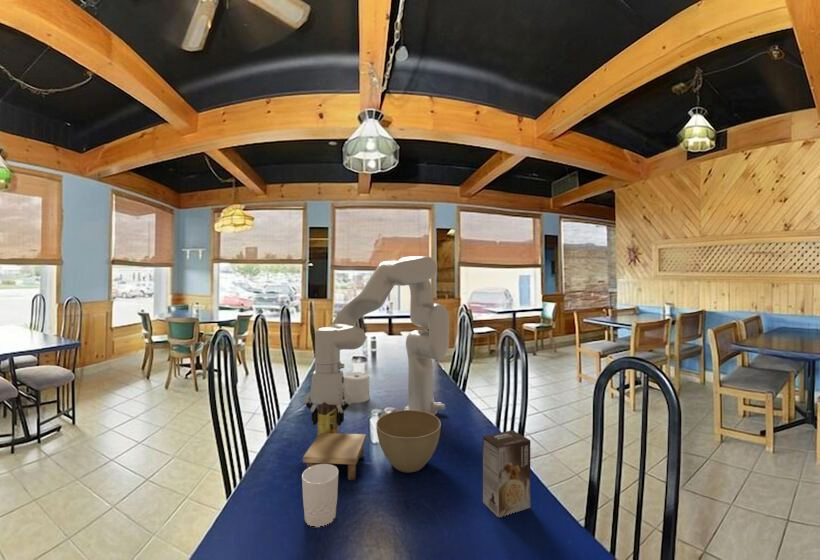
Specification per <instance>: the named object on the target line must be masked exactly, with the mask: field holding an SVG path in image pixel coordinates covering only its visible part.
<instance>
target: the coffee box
mask: <svg viewBox="0 0 820 560" xmlns="http://www.w3.org/2000/svg"><path fill="white" fill-rule="evenodd" d="M482 503H483V504H484V505H485V506H486V507H487V508H488V509H489V510H490V511H491V512H492V513H493V514H494V515H495V516H496V517H497V518H498V517H499V518H498V519H500V517H501V518H503V516H504V517H507V516H509V514H510V515H512V513H513V514H515V512H516V513H519V512H521V511H525V510H527V509H531V439H529V438H528V437H526V436H524V435H522V434H521V433H519V432H516V431H515V430H512V429H511V430H507V431H503V432H497V433H493V434H489V435H485V436H484V435H483V436H482ZM506 515H507V516H506Z"/></svg>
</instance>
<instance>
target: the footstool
mask: <svg viewBox="0 0 820 560" xmlns="http://www.w3.org/2000/svg"><path fill="white" fill-rule="evenodd" d="M366 440H367V434H365V433H364V434H363V433H339V432H338V433H319V435H318V434H317V436H316V438H315V439H314V441H313V442H312V443H311V444H310V446H309V448H308V449H307V451H305V453H304V455H303V457H302V458H303V459H302V463H306V469H307V468H309V467H311V466H314V465H316V464H331V465H334V464H335V465H336V464H337V465H347V480H349V481H353V480H355V479H356V478H357V477H356V468H357V467H356V465H357V463H358V461H359V459H363V458H364V457H365V456H364V449H365V448H364V446H365V443H366Z"/></svg>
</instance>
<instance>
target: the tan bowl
mask: <svg viewBox="0 0 820 560" xmlns="http://www.w3.org/2000/svg"><path fill="white" fill-rule="evenodd" d="M375 423H376V424H375V425H376V433H377V439H378V442H379V445H380V447H381V450H382V452H383V454H384V456H385V457H386V459H387V460H388V462H389V464H391V465H392V467H394V468H395V470H396V471H399V472H402V473H409V474H411V473H414V472H418V471H421V469H423V467H425V465H427V463H428V462H429V461H430V459H431V458H432V456H433V455H434V453H435V451H436V448H437V446H438V444H439V440H440V435H441V427H442V423H441V420H440V418H438V416H436V415H432V414H430V413H427V412H423V411H417V410H404V409H401V410H395V411H392V412H388V413H386V414H384V415H381V416H380V417H379V418H378V419H377V421H376V422H375Z"/></svg>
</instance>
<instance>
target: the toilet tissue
mask: <svg viewBox="0 0 820 560" xmlns="http://www.w3.org/2000/svg"><path fill="white" fill-rule="evenodd" d="M343 375H344V374H343ZM344 382H345V391H346V392H347V393H348V394H349V395H350V396H351V397H353V398H354V400H353V402H352V403H351V404H361V403H365V402H368V401H369V400H370V374H369V373H367V372H362V371H360V372H359V371H354V372H349V373H345V375H344ZM343 401H344V402H347V399H346V398H345V399H344V400H343Z"/></svg>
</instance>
